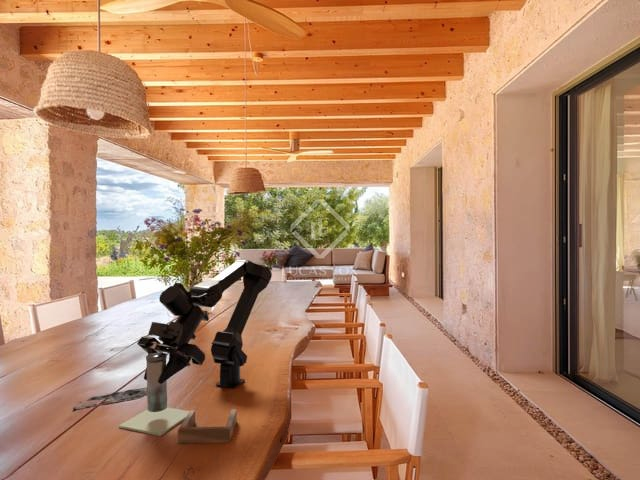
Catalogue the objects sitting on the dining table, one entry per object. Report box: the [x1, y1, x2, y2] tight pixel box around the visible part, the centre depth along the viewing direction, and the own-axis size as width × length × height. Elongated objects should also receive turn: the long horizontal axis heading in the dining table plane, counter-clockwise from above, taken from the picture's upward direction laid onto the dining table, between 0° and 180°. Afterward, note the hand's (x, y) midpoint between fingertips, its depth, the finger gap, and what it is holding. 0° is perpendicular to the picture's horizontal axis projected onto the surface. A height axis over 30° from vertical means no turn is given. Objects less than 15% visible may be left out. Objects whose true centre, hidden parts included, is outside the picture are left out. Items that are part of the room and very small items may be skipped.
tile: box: [118, 406, 190, 437], centre depth 105 cm, size 12×12×1 cm
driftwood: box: [72, 386, 147, 410], centre depth 118 cm, size 21×7×2 cm, turn 117°
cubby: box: [177, 408, 238, 444], centre depth 99 cm, size 10×11×3 cm
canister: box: [145, 352, 168, 412], centre depth 105 cm, size 5×5×13 cm
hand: (152, 381), depth 103 cm, fingers closed on canister, 4 cm apart
